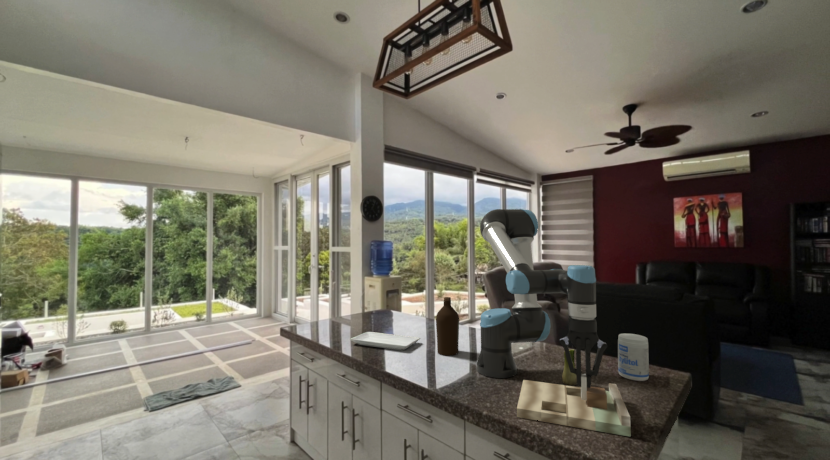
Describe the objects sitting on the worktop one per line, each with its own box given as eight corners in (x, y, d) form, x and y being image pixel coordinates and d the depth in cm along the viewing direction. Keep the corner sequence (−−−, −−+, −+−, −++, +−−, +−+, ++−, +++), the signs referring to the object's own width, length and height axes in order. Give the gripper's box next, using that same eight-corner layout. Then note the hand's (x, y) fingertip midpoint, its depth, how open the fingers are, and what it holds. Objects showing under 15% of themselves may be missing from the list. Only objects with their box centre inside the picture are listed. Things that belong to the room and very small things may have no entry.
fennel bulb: (573, 381, 124) (572, 347, 124) (582, 386, 119) (581, 351, 119) (558, 382, 123) (557, 348, 123) (566, 388, 118) (566, 352, 118)
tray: (367, 337, 185) (367, 330, 186) (421, 344, 172) (421, 336, 172) (348, 345, 170) (348, 338, 170) (406, 353, 157) (406, 346, 157)
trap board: (517, 417, 99) (516, 399, 99) (523, 387, 119) (523, 372, 119) (630, 436, 88) (630, 416, 88) (616, 400, 108) (616, 384, 109)
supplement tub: (616, 377, 127) (614, 336, 127) (621, 370, 134) (619, 331, 135) (647, 384, 121) (646, 341, 121) (651, 376, 128) (649, 335, 128)
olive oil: (440, 357, 151) (439, 299, 152) (433, 350, 161) (432, 296, 162) (463, 355, 153) (462, 298, 154) (455, 348, 163) (454, 295, 164)
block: (587, 406, 99) (587, 392, 99) (586, 399, 104) (585, 385, 104) (607, 409, 97) (606, 395, 97) (604, 402, 102) (604, 388, 102)
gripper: (558, 318, 102) (560, 399, 101) (608, 321, 97) (610, 407, 96) (558, 313, 109) (560, 389, 108) (605, 316, 104) (607, 396, 103)
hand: (583, 397), depth 102 cm, fingers closed
